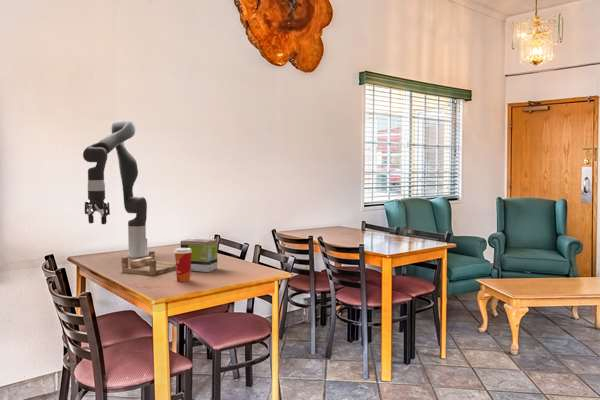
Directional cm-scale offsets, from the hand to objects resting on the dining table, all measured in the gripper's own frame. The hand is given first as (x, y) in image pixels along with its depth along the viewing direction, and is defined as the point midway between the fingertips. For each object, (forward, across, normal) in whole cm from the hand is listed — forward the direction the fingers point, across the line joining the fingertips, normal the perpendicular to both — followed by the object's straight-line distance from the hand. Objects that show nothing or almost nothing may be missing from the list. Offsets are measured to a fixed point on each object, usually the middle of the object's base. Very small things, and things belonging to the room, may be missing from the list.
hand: (97, 223), depth 229 cm
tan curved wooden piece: (+21, -16, -12) cm, 29 cm away
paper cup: (+23, -49, -3) cm, 54 cm away
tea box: (+23, -41, -25) cm, 53 cm away
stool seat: (+23, -22, -13) cm, 34 cm away
